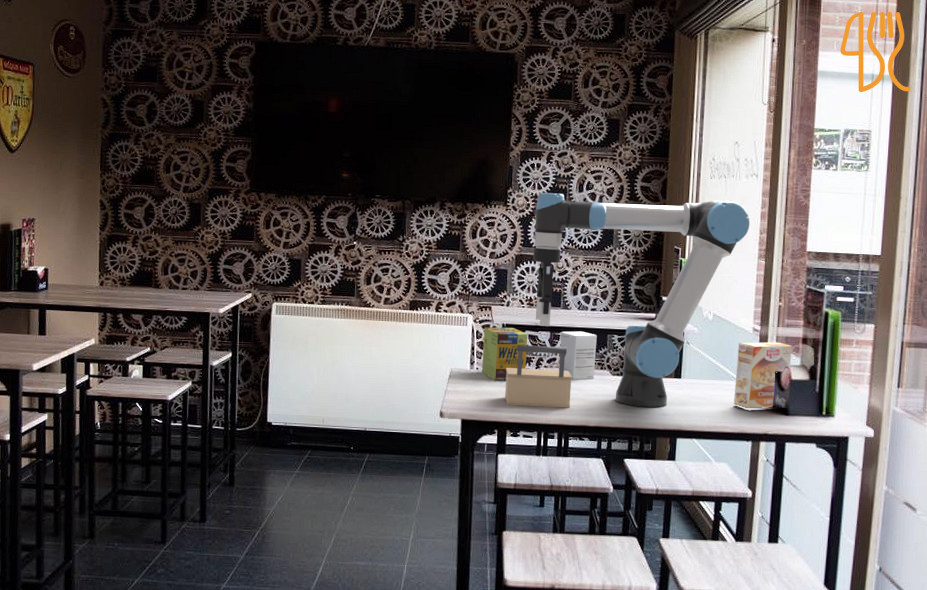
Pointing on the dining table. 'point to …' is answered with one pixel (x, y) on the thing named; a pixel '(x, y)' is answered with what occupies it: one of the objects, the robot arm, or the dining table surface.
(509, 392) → the carton
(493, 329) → the protein box
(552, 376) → the flap
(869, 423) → the dining table surface
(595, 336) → the supplement box
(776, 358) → the coffeecake box
